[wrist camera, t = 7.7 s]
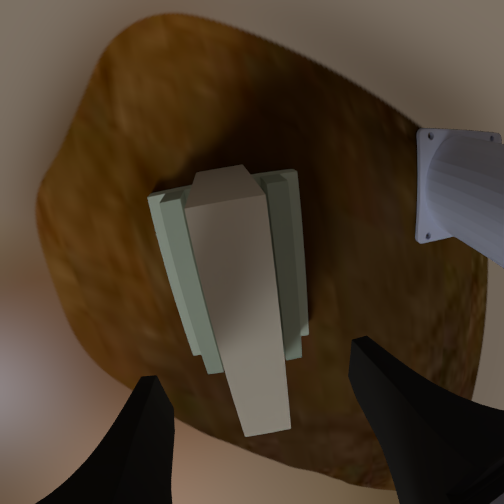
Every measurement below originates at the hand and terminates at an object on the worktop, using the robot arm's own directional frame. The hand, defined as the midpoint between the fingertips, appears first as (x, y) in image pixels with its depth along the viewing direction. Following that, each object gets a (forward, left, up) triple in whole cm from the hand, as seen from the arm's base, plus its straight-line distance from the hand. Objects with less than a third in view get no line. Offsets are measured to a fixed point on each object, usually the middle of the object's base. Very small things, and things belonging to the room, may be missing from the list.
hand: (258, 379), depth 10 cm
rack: (0, 0, -9) cm, 9 cm away
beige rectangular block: (0, 0, -8) cm, 8 cm away
